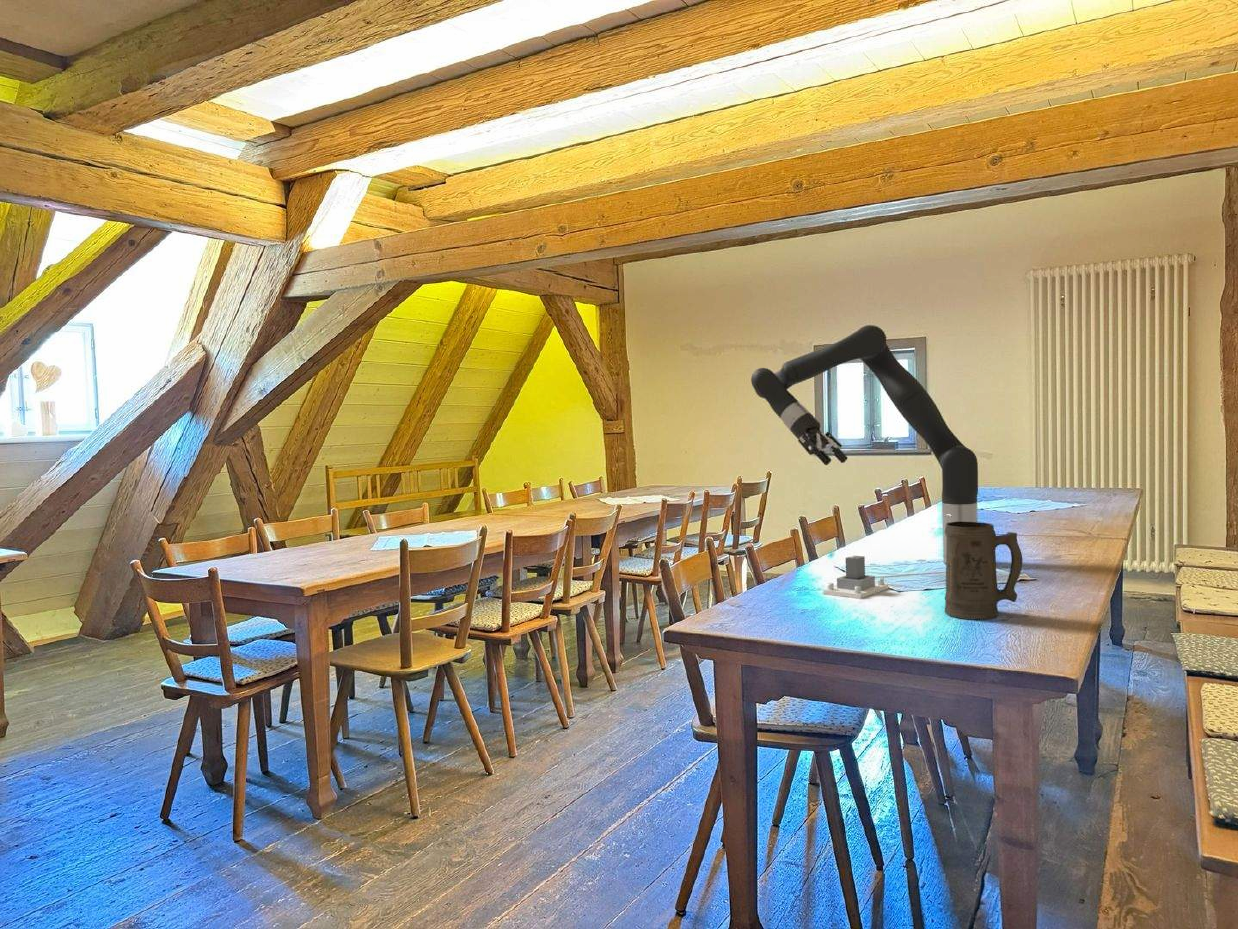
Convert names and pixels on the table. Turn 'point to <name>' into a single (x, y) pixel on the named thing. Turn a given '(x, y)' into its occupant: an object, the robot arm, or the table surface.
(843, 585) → the plate
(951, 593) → the beer stein
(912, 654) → the table surface
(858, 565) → the block
